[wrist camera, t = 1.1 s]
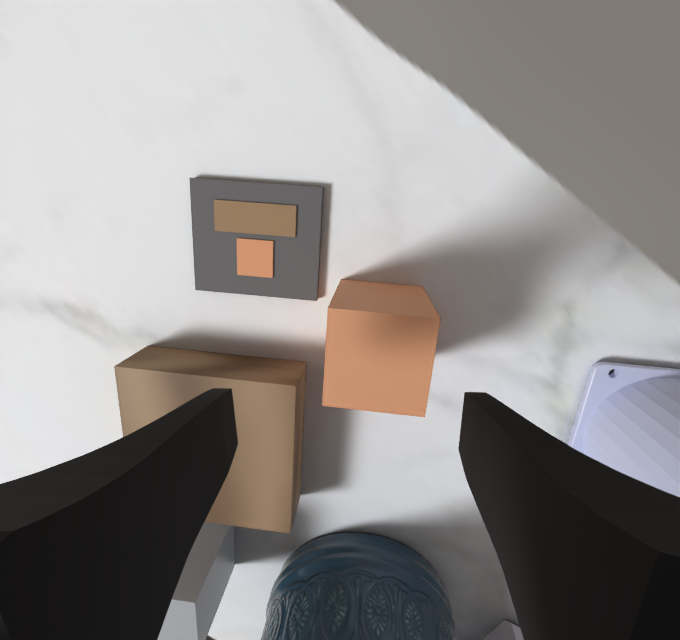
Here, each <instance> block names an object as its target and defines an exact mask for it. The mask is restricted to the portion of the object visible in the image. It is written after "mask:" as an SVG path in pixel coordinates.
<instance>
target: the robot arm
mask: <svg viewBox="0 0 680 640" xmlns="http://www.w3.org/2000/svg"><path fill="white" fill-rule="evenodd" d="M612 369H614V372H613V373H612V374H610V375H608V373H609V371H610V370H612ZM237 446H238V438H237V429H236V420H235V412H234V403H233V394H232V388H212V389H210V390H208V391H206V392H204V393H202V394H200V395H198V396H197V397H195V398H193V399H191V400H190V401H188V402H186V403H185V404H183V405H181V406H179V407H178V408H176V409H174V410H173V411H171V412H169V413H167V414H166V415H164V416H162V417H160V418H159V419H157V420H155V421H153V422H151V423H149V424H147V425H146V426H144V427H142V428H140V429H138V430H136V431H134V432H133V433H131V434H129V435H127V436H125V437H123V438H121V439H119V440H117V441H114V442H112V443H110V444H108V445H106V446H103V447H101V448H99V449H97V450H94V451H92V452H90V453H87V454H85V455H83V456H80V457H78V458H75V459H72V460H70V461H67V462H64V463H62V464H59V465H56V466H54V467H51V468H48V469H46V470H43V471H40V472H37V473H34V474H31V475H28V476H25V477H22V478H19V479H16V480H13V481H9V482H6V483H3V484H0V640H157V639H158V636H159V634H160V631H161V628H162V625H163V622H164V620H165V617H166V614H167V611H168V608H169V606H170V603H171V600H172V597H173V594H174V592H175V589H176V587H177V584H178V581H179V579H180V576H181V573H182V571H183V568H184V566H185V563H186V560H187V558H188V555H189V553H190V551H191V549H192V546H193V544H194V542H195V540H196V538H197V536H198V534H199V532H200V530H201V528H202V526H203V524H204V522H205V520H206V518H207V516H208V514H209V512H210V510H211V508H212V506H213V504H214V502H215V500H216V498H217V496H218V494H219V492H220V489H221V487H222V485H223V483H224V481H225V479H226V477H227V475H228V473H229V470H230V467H231V464H232V461H233V459H234V455H235V452H236V449H237ZM459 453H460V457H461V461H462V465H463V468H464V472H465V475H466V479H467V482H468V484H469V487H470V489H471V492H472V494H473V497H474V499H475V502H476V504H477V506H478V509H479V511H480V514H481V516H482V518H483V521H484V523H485V526H486V528H487V531H488V533H489V535H490V538H491V540H492V543H493V545H494V547H495V550H496V552H497V555H498V558H499V560H500V563H501V566H502V569H503V572H504V575H505V578H506V581H507V585H508V588H509V591H510V595H511V598H512V601H513V604H514V608H515V611H516V614H517V618H518V621H519V625H520V628H521V632H522V635H523V639H524V640H680V369H674V368H664V367H653V366H643V365H633V364H623V363H612V362H598V363H595V364H594V365H593V366H592V368H591V370H590V374H589V377H588V380H587V383H586V387H585V390H584V393H583V397H582V400H581V403H580V406H579V410H578V413H577V416H576V419H575V423H574V426H573V429H572V433H571V436H570V439H569V442H568V445H567V444H565V443H564V442H562V441H560V440H558V439H557V438H555V437H553V436H552V435H550V434H549V433H547V432H545V431H544V430H542V429H541V428H539V427H537V426H536V425H534V424H533V423H531V422H530V421H528V420H527V419H525V418H524V417H522V416H521V415H519V414H518V413H516V412H515V411H513V410H512V409H510V408H509V407H507V406H506V405H504V404H503V403H502V402H500V401H498V400H497V399H495V398H494V397H492V396H491V395H489V394H487V393H481V392H465V395H464V404H463V413H462V422H461V432H460V441H459Z"/></svg>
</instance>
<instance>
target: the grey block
mask: <svg viewBox="0 0 680 640" xmlns="http://www.w3.org/2000/svg"><path fill="white" fill-rule="evenodd" d="M234 565H235V545H234V526H231V525H223V524H216V523H209V522H204V524H203V526H202V528H201V530H200V532H199V534H198V536H197V538H196V540H195V542H194V544H193V546H192V549H191V551H190V553H189V555H188V558H187V560H186V563H185V566H184V568H183V571H182V573H181V576H180V579H179V581H178V584H177V587H176V589H175V592H174V594H173V597H172V600H171V603H170V606H169V608H168V611H167V614H166V617H165V620H164V622H163V625H162V628H161V631H160V634H159V636H158V639H157V640H205V639H206V637H207V634H208V632H209V629H210V627H211V624H212V622H213V619H214V617H215V614H216V611H217V609H218V606H219V604H220V601H221V599H222V596H223V594H224V591H225V588H226V586H227V583H228V581H229V578H230V576H231V573H232V571H233V568H234Z"/></svg>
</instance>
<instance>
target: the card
mask: <svg viewBox="0 0 680 640" xmlns="http://www.w3.org/2000/svg"><path fill="white" fill-rule="evenodd" d="M190 194H191V213H192V232H193V251H194V271H195V290H203V291H214V292H225V293H236V294H247V295H258V296H269V297H280V298H291V299H302V300H313V301H317V299H318V283H319V264H320V245H321V226H322V206H323V187H315V186H300V185H286V184H272V183H258V182H243V181H229V180H215V179H201V178H190Z"/></svg>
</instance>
